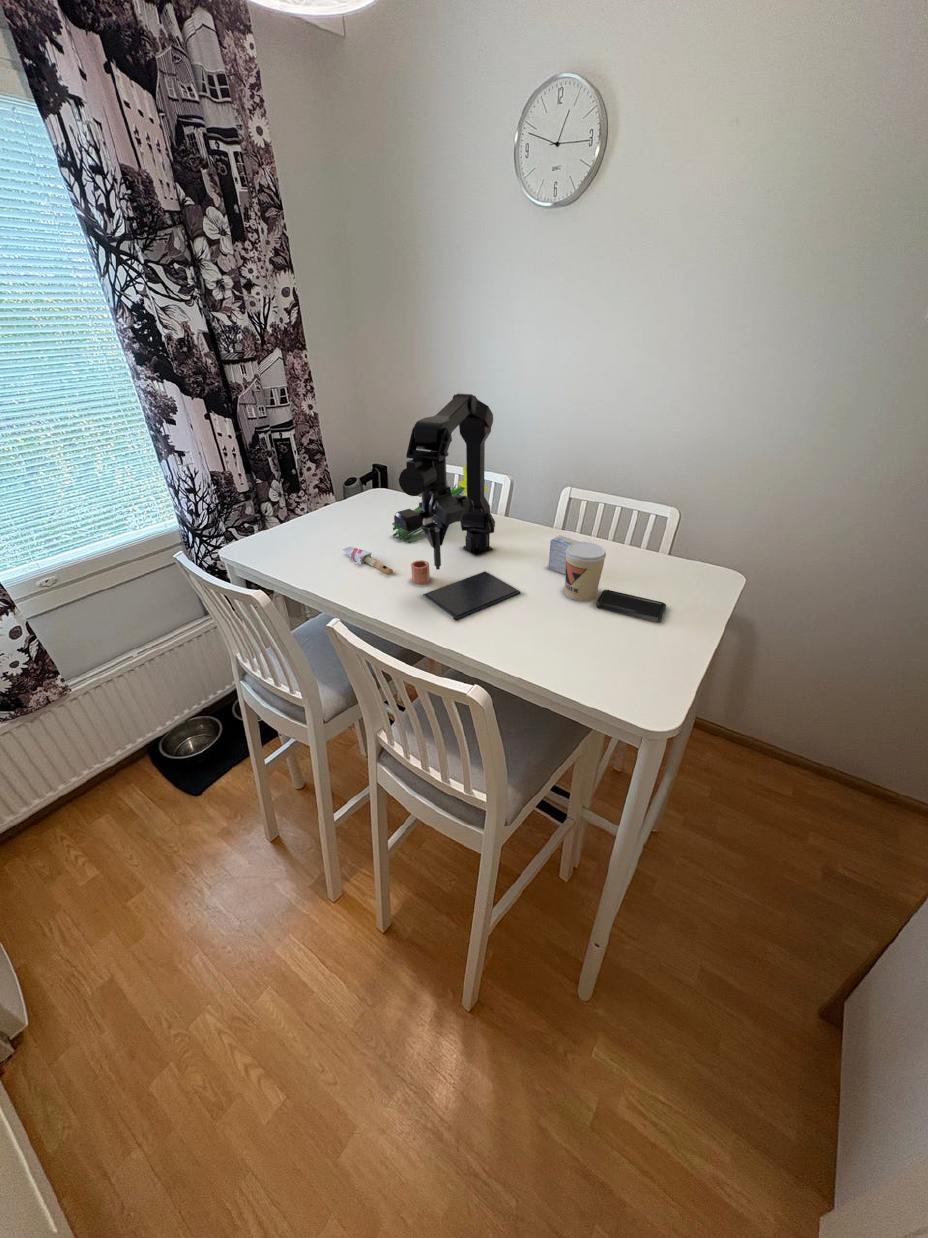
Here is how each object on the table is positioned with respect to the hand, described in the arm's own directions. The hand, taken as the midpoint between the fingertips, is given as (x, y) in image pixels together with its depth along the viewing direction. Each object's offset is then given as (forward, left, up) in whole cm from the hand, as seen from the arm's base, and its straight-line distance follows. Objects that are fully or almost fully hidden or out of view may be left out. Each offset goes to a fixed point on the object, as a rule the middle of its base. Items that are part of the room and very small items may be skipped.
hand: (436, 546), depth 116 cm
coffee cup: (-28, +22, -13) cm, 38 cm away
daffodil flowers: (-24, -34, -13) cm, 43 cm away
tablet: (-6, +6, -13) cm, 15 cm away
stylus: (0, 0, -6) cm, 6 cm away
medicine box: (-34, +11, -13) cm, 38 cm away
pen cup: (0, -8, -13) cm, 15 cm away
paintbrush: (+6, -26, -13) cm, 30 cm away
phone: (-32, +34, -13) cm, 48 cm away
